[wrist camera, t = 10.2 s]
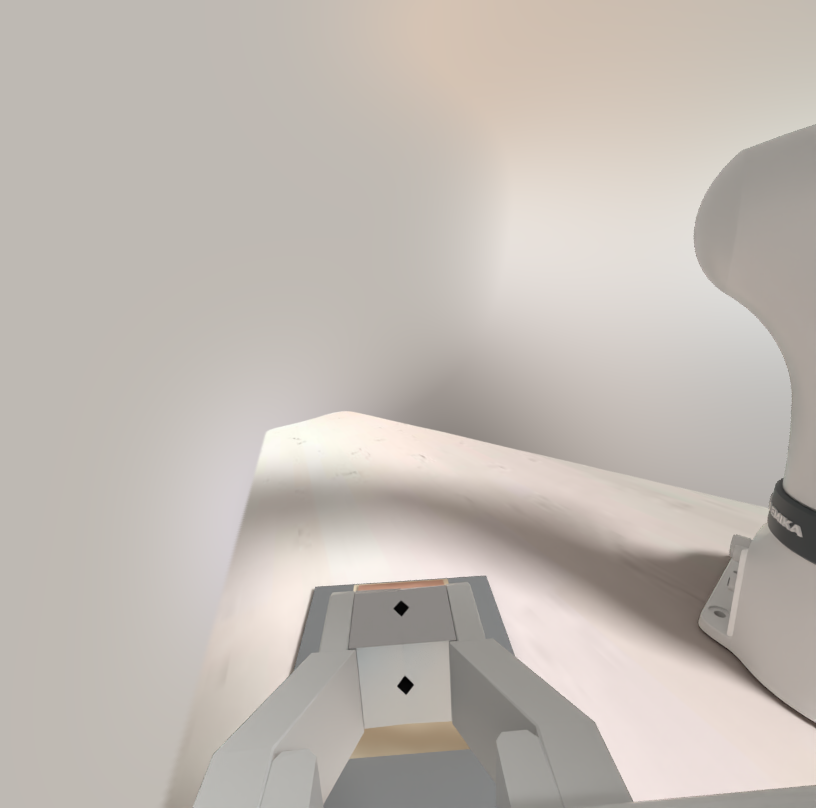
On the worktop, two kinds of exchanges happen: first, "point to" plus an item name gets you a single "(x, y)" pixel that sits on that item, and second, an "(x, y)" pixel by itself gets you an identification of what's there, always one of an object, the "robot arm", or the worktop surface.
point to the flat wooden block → (413, 734)
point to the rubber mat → (421, 772)
